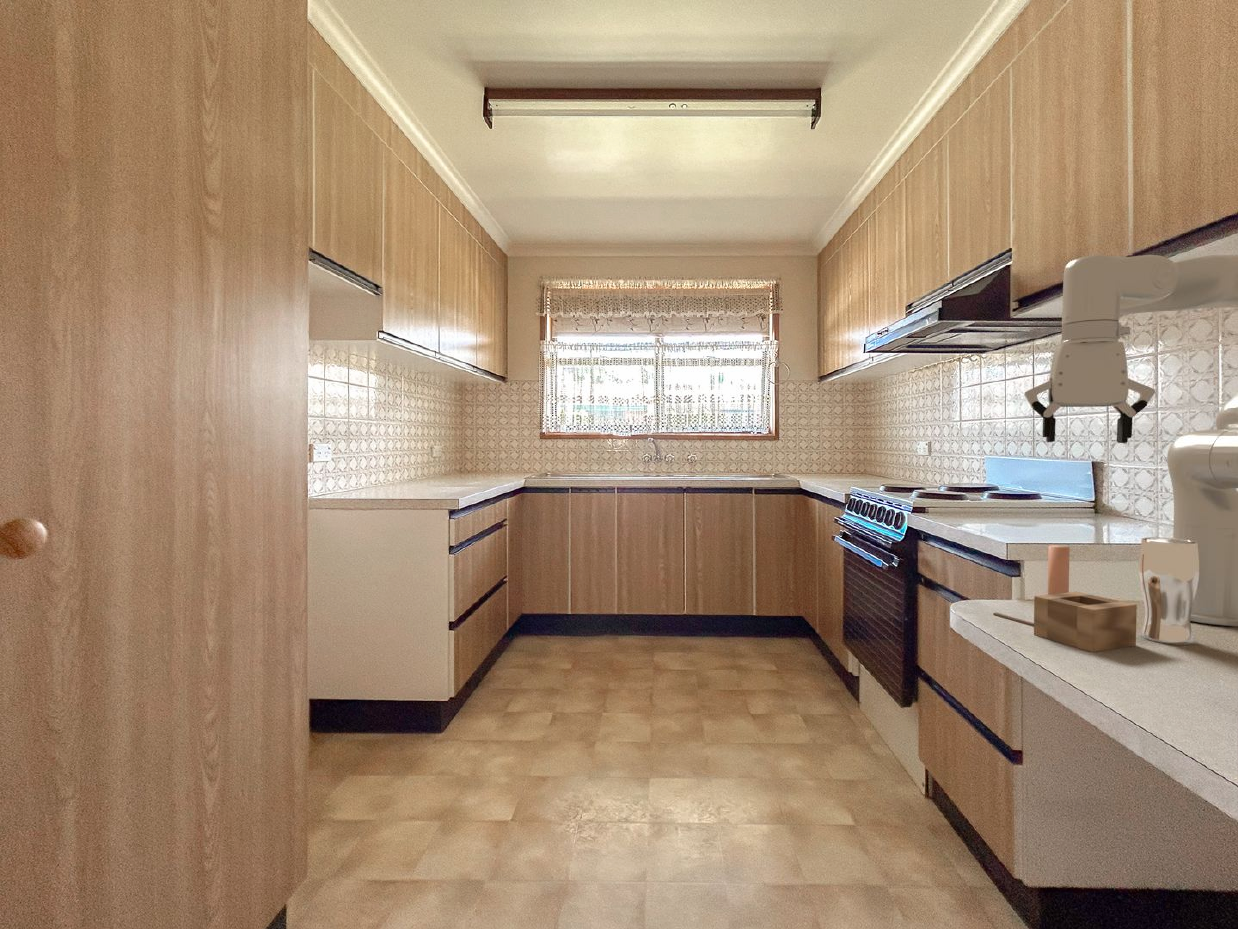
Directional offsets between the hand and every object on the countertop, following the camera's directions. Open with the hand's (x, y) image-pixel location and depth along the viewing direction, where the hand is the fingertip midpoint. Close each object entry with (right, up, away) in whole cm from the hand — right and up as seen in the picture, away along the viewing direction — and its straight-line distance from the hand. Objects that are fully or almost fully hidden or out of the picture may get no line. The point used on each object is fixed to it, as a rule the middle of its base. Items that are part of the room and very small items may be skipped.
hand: (1085, 442), depth 106 cm
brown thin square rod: (-9, -30, +3) cm, 31 cm away
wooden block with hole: (-5, -30, -7) cm, 31 cm away
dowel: (0, -30, +6) cm, 30 cm away
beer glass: (+7, -30, -7) cm, 32 cm away
